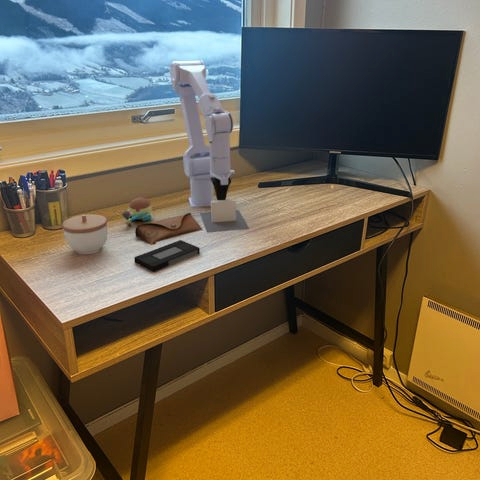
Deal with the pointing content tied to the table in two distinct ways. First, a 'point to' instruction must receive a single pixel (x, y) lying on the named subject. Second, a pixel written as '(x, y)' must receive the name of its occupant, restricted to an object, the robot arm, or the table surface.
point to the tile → (223, 210)
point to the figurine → (138, 210)
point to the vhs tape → (166, 255)
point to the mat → (223, 223)
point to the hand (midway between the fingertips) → (221, 201)
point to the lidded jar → (86, 233)
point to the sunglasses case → (166, 228)
